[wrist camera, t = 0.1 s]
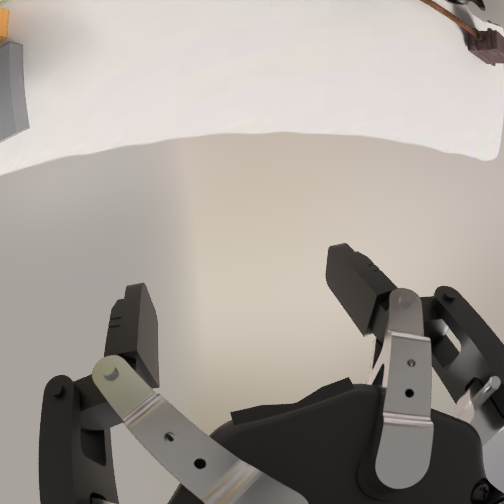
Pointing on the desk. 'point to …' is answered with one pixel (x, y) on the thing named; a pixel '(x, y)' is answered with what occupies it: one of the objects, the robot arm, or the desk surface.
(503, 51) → the hammer
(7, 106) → the flat gray square block
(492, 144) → the desk surface
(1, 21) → the tall orange cuboid
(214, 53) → the desk surface
